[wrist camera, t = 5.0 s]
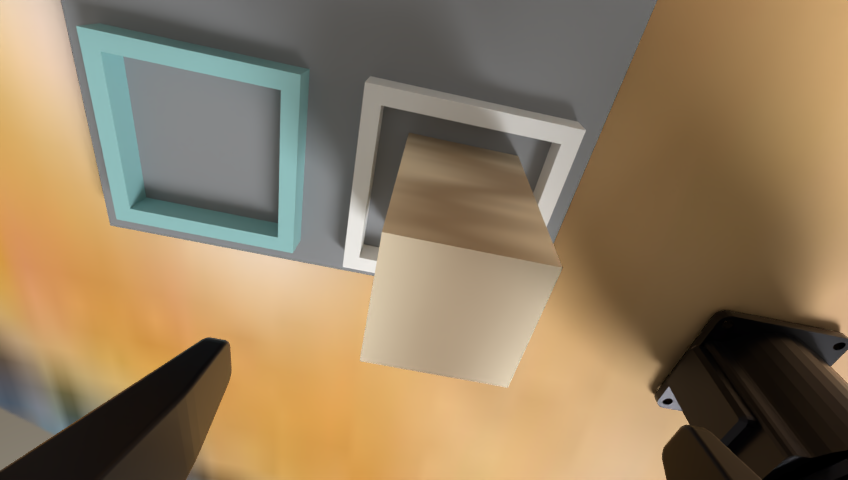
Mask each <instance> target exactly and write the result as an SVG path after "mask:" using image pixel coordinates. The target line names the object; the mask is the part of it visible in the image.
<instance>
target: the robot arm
mask: <svg viewBox="0 0 848 480" xmlns="http://www.w3.org/2000/svg"><path fill="white" fill-rule="evenodd" d="M725 321H726V322H725ZM847 350H848V337H846V336H845V335H844V334H843V333H840V332H836V331H830V330H825V329H820V328H815V327H810V326H805V325H800V324H795V323H790V322H785V321H780V320H774V319H769V318H764V317H759V316H754V315H749V314H744V313H739V312H734V311H727V310H724V311H720V312H718V313H716V314H715V315H714V316H713V317H712V318H711V319H710V321H709V322H708V323H707V325H706V326H705V328H704V329H703V330H702V332H701V333H700V334H699V336H698V337H697V338H696V340H695V341H694V342H693V344H692V345H691V346H690V348H689V349H688V350H687V352H686V353H685V354H684V356H683V357H682V359H681V360H680V361H679V363H678V364H677V365H676V367H675V368H674V369H673V371H672V372H671V373H670V375H669V376H668V377H667V379H666V380H665V381H664V383H663V384H662V385H661V387H660V388H659V389H658V391H657V392H656V394H655V396H654V397H655V400H656V402H657V404H658V405H659V406H660V407H663V408H668V409H673V410H679V411H683V413H684V415H685V417H686V419H687V421H688V422H689V424H690V425H684V426H682V427H681V428H680V429H679V430H678V431H677V432H676V433H675V435H674V436H673V437H672V438H671V439H670V440H669V442H668V443H667V444H666V445H665V447H664V449H663V452H662V460H663V465H664V470H665V475H666V479H667V480H848V383H847V382H846V381H845V380H844V379H843V378H842V377H841V376H840V375H839V374H838V373H837V372H836V371H835V370H834V369H833V368H832V367H831V366H832V365H833V364H834V363H835V362H836V361H837V360H838V359H839V358H840V357H841V356H842V355H843V354H844V353H845V352H846V351H847ZM230 377H231V352H230V344H229V342H228V341H226V340H221V339H216V338H209V337H208V338H205V339H202V340H201V341H199V342H198V343H196V344H195V345H193V346H191V347H190V348H188V349H187V350H185V351H184V352H182V353H181V354H179V355H178V356H176V357H175V358H173V359H171V360H170V361H168V362H167V363H165V364H164V365H162V366H161V367H159V368H158V369H156V370H154V371H153V372H151V373H150V374H148V375H147V376H145V377H144V378H142V379H141V380H139V381H138V382H136V383H134V384H133V385H131V386H130V387H128V388H127V389H125V390H124V391H122V392H121V393H119V394H117V395H116V396H114V397H113V398H111V399H110V400H108V401H107V402H105V403H104V404H102V405H101V406H99V407H97V408H96V409H94V410H93V411H91V412H90V413H88V414H87V415H85V416H84V417H82V418H81V419H79V420H77V421H76V422H74V423H73V424H71V425H70V426H68V427H67V428H65V429H64V430H62V431H60V432H59V433H57V434H56V435H54V436H53V437H51V438H50V439H48V440H47V441H45V442H44V443H42V444H40V445H39V446H37V447H36V448H34V449H33V450H31V451H30V452H28V453H27V454H25V455H23V456H22V457H20V458H19V459H17V460H16V461H14V462H13V463H11V464H10V465H8V466H7V467H5V468H4V469H2V470H0V480H186V478H187V476H188V475H189V473H190V471H191V469H192V467H193V465H194V463H195V461H196V459H197V456H198V454H199V452H200V450H201V447H202V445H203V443H204V440H205V438H206V435H207V433H208V431H209V428H210V426H211V424H212V421H213V419H214V416H215V414H216V412H217V409H218V407H219V404H220V402H221V400H222V397H223V395H224V393H225V390H226V388H227V385H228V383H229V380H230Z"/></svg>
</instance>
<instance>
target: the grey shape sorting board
mask: <svg viewBox="0 0 848 480" xmlns="http://www.w3.org/2000/svg"><path fill="white" fill-rule="evenodd" d="M656 2H657V0H61V3H62V7H63V12H64V16H65V21H66V25H67V30H68V35H69V39H70V44H71V48H72V53H73V57H74V62H75V66H76V71H77V76H78V80H79V85H80V89H81V94H82V98H83V103H84V107H85V112H86V116H87V121H88V126H89V130H90V135H91V139H92V144H93V148H94V153H95V157H96V162H97V166H98V171H99V176H100V180H101V185H102V189H103V194H104V198H105V203H106V207H107V212H108V216H109V221H110V225H111V226H116V227H122V228H127V229H132V230H137V231H143V232H148V233H153V234H158V235H163V236H169V237H174V238H179V239H184V240H190V241H195V242H200V243H205V244H210V245H216V246H221V247H226V248H231V249H237V250H242V251H247V252H252V253H257V254H263V255H268V256H273V257H278V258H284V259H289V260H294V261H299V262H304V263H310V264H315V265H320V266H325V267H331V268H336V269H341V270H346V271H351V272H357V273H362V274H367V275H372V276H374V275H375V269H376V263H377V257H378V252H379V246H380V240H381V234H382V230H383V226H384V222H385V219H386V215H387V211H388V208H389V204H390V200H391V196H392V193H393V189H394V185H395V182H396V178H397V174H398V171H399V167H400V163H401V160H402V156H403V152H404V149H405V145H406V141H407V137H408V134H409V133H413V134H418V135H422V136H427V137H432V138H436V139H441V140H446V141H451V142H455V143H460V144H465V145H469V146H474V147H479V148H483V149H488V150H493V151H498V152H502V153H507V154H512V155H516V156H518V157H519V159H520V162H521V164H522V167H523V169H524V172H525V174H526V177H527V179H528V182H529V184H530V187H531V189H532V192H533V195H534V197H535V200H536V202H537V205H538V207H539V210H540V212H541V215H542V217H543V220H544V222H545V225H546V227H547V230H548V232H549V235H550V237H551V240H552V242H553V243H554V241H555V238H556V236H557V234H558V231H559V229H560V227H561V224H562V222H563V220H564V217H565V215H566V213H567V210H568V208H569V206H570V203H571V201H572V199H573V196H574V194H575V192H576V189H577V187H578V185H579V182H580V180H581V178H582V175H583V173H584V171H585V168H586V166H587V164H588V161H589V159H590V157H591V154H592V152H593V150H594V147H595V145H596V143H597V140H598V138H599V135H600V133H601V131H602V128H603V126H604V124H605V121H606V119H607V117H608V114H609V112H610V110H611V107H612V105H613V103H614V100H615V98H616V96H617V93H618V91H619V89H620V86H621V84H622V82H623V79H624V77H625V75H626V72H627V70H628V68H629V65H630V63H631V61H632V58H633V56H634V54H635V51H636V49H637V47H638V44H639V42H640V40H641V37H642V35H643V33H644V30H645V28H646V26H647V23H648V21H649V18H650V16H651V14H652V11H653V9H654V7H655V4H656Z"/></svg>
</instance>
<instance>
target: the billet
mask: <svg viewBox="0 0 848 480" xmlns="http://www.w3.org/2000/svg"><path fill="white" fill-rule="evenodd" d="M562 268H563V267H562V265H561V262H560V260H559V257H558V255H557V252H556V250H555V247H554V245H553V242H552V240H551V237H550V235H549V232H548V230H547V227H546V225H545V222H544V220H543V217H542V215H541V212H540V210H539V207H538V205H537V202H536V200H535V197H534V195H533V192H532V189H531V187H530V184H529V182H528V179H527V177H526V174H525V172H524V169H523V167H522V164H521V162H520V159H519V157H518V156H516V155H512V154H507V153H502V152H498V151H493V150H488V149H483V148H479V147H474V146H469V145H465V144H460V143H455V142H451V141H446V140H441V139H436V138H432V137H427V136H422V135H418V134H413V133H409V134H408V137H407V141H406V145H405V149H404V152H403V156H402V160H401V163H400V167H399V171H398V174H397V178H396V182H395V185H394V189H393V193H392V196H391V200H390V204H389V208H388V211H387V215H386V219H385V222H384V226H383V230H382V234H381V240H380V246H379V252H378V257H377V263H376V269H375V275H374V281H373V287H372V292H371V298H370V304H369V310H368V316H367V322H366V327H365V333H364V339H363V345H362V351H361V357H360V361H362V362H368V363H373V364H379V365H384V366H390V367H396V368H401V369H407V370H412V371H418V372H423V373H429V374H435V375H440V376H446V377H451V378H457V379H463V380H468V381H474V382H479V383H485V384H490V385H496V386H502V387H507V388H508V386H509V384H510V382H511V380H512V378H513V375H514V373H515V371H516V369H517V367H518V364H519V362H520V360H521V358H522V356H523V353H524V351H525V349H526V347H527V345H528V343H529V340H530V338H531V336H532V334H533V332H534V329H535V327H536V325H537V323H538V321H539V319H540V316H541V314H542V312H543V310H544V308H545V305H546V303H547V301H548V299H549V297H550V294H551V292H552V290H553V288H554V286H555V284H556V281H557V279H558V277H559V275H560V273H561V270H562Z"/></svg>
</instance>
